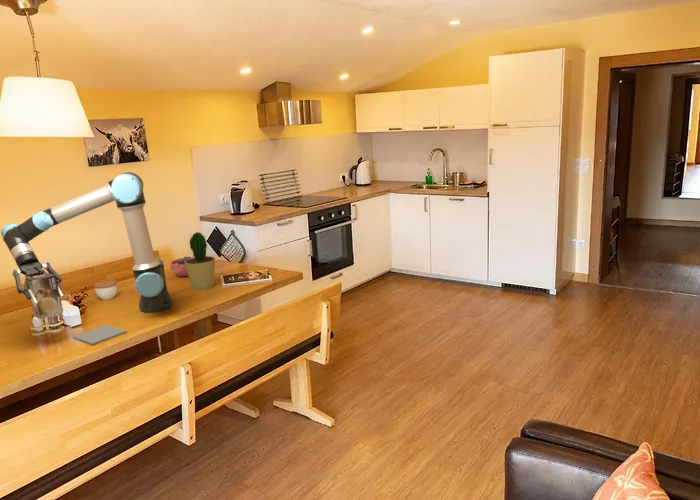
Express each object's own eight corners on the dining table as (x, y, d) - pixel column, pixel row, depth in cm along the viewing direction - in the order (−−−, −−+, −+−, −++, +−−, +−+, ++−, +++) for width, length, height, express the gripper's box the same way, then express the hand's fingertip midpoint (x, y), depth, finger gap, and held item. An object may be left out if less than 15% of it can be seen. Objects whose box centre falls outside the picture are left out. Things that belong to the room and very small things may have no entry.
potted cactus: (201, 281, 299) (195, 227, 292) (224, 283, 292) (217, 228, 285) (181, 289, 285) (174, 233, 278) (204, 292, 279) (197, 235, 272)
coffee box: (57, 309, 224) (50, 272, 221) (63, 312, 220) (56, 274, 217) (33, 316, 218) (25, 278, 214) (39, 319, 214) (31, 280, 210)
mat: (106, 326, 238) (106, 324, 238) (126, 332, 229) (126, 330, 229) (73, 338, 226) (72, 336, 226) (92, 345, 217) (92, 343, 217)
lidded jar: (105, 294, 285) (102, 277, 283) (123, 294, 283) (120, 277, 281) (91, 301, 275) (88, 283, 273) (110, 301, 273) (107, 283, 270)
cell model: (192, 269, 326) (190, 250, 323) (209, 274, 312) (206, 255, 309) (165, 275, 315) (163, 256, 312) (181, 281, 301) (178, 262, 298)
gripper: (51, 256, 232) (74, 298, 226) (-6, 269, 216) (17, 314, 210) (54, 245, 228) (78, 288, 221) (-4, 257, 211) (20, 303, 205)
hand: (48, 300), depth 216 cm, fingers closed on coffee box, 9 cm apart
